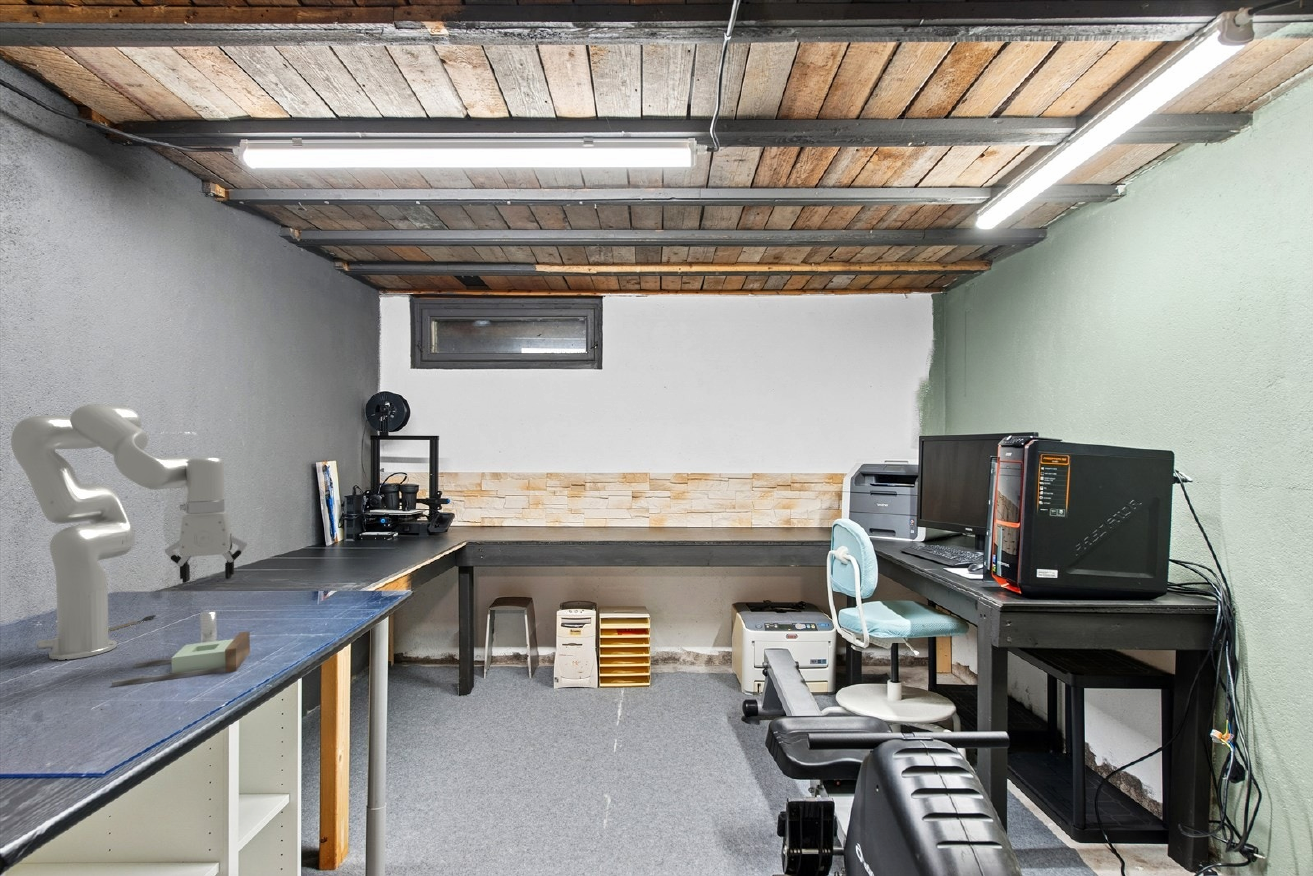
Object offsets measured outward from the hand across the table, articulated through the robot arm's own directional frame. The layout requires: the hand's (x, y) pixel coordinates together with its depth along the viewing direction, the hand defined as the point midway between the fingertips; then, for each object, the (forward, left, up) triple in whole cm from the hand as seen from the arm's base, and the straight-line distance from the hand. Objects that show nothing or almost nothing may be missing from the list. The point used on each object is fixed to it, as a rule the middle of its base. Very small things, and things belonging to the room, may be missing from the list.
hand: (207, 579), depth 158 cm
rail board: (-3, -15, -18) cm, 24 cm away
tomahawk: (-29, +39, -19) cm, 52 cm away
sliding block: (+3, -15, -17) cm, 23 cm away
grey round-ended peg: (0, 0, -18) cm, 18 cm away
